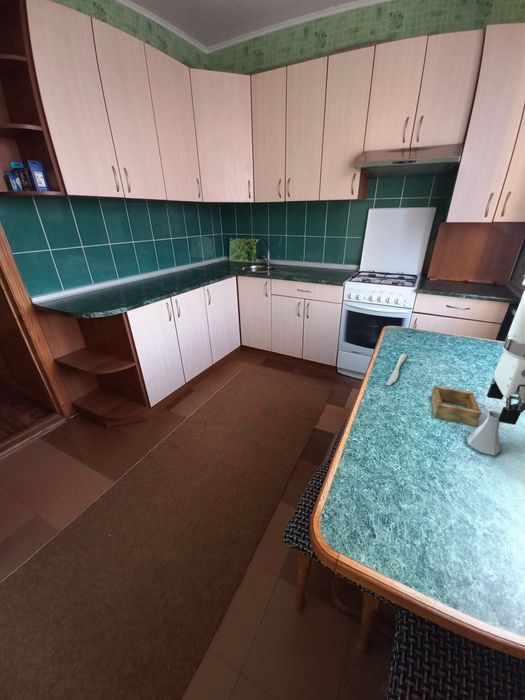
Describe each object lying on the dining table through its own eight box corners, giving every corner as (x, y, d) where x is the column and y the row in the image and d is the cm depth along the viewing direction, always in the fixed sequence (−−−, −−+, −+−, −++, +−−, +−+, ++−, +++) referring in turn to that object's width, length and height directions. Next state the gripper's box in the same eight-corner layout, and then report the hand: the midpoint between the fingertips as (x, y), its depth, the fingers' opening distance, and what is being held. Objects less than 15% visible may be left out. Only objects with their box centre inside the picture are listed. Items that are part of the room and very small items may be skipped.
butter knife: (409, 354, 118) (402, 352, 120) (392, 386, 99) (383, 383, 100) (409, 356, 118) (401, 353, 120) (392, 388, 99) (383, 385, 101)
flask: (497, 460, 71) (512, 429, 66) (463, 445, 75) (475, 415, 71) (501, 443, 76) (516, 413, 71) (469, 431, 80) (480, 401, 75)
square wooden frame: (468, 404, 90) (472, 392, 88) (476, 425, 82) (481, 413, 80) (430, 397, 94) (434, 385, 92) (434, 417, 85) (438, 405, 83)
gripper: (569, 369, 54) (533, 437, 62) (532, 333, 68) (507, 392, 76) (519, 363, 57) (491, 429, 65) (494, 329, 71) (473, 387, 79)
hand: (499, 409), depth 70 cm, fingers open, 9 cm apart
